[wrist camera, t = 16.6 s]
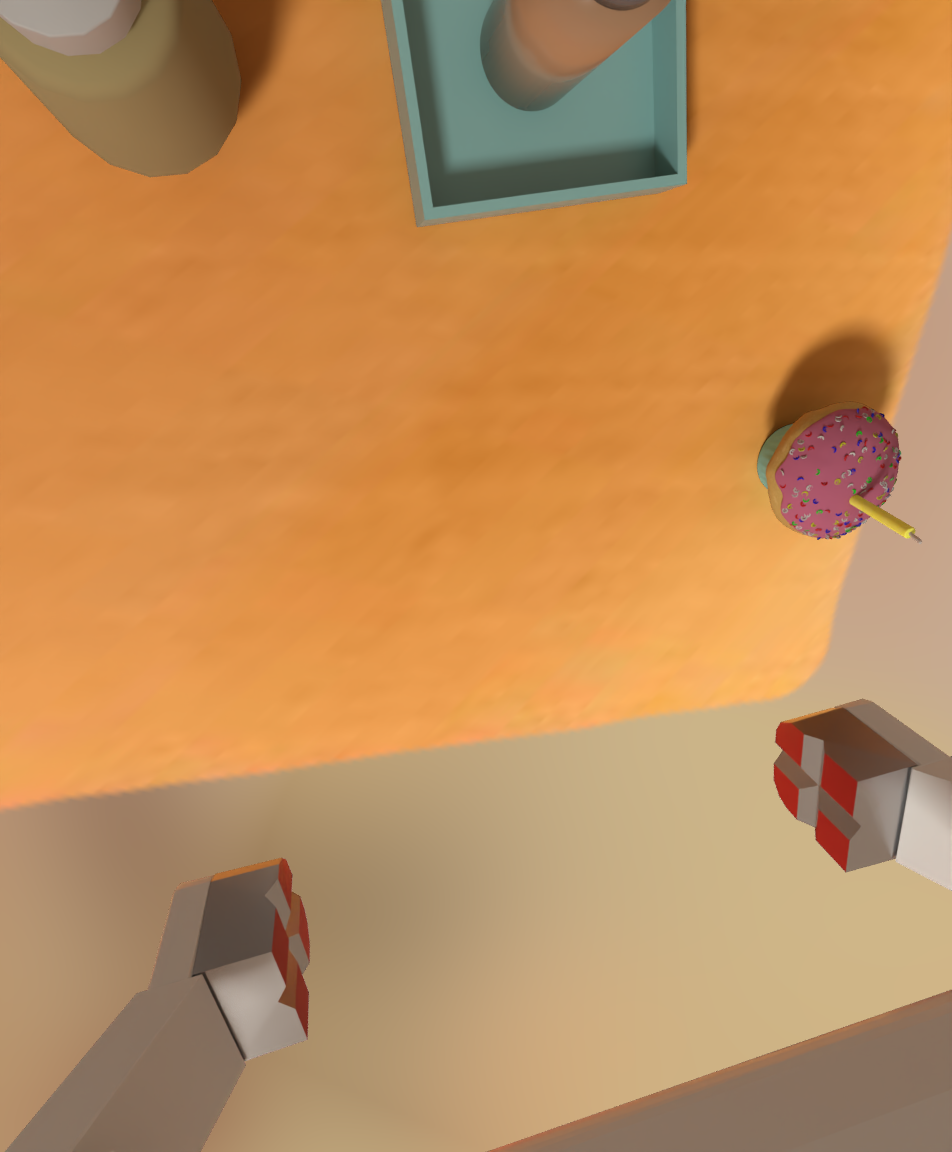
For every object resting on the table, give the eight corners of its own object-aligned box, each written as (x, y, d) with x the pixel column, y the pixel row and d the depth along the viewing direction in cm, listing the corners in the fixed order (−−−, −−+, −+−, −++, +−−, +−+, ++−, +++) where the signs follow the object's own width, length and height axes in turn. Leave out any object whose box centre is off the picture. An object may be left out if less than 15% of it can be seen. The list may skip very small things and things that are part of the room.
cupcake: (822, 516, 47) (971, 578, 36) (718, 517, 45) (843, 582, 34) (855, 395, 44) (1029, 424, 33) (745, 390, 42) (891, 419, 31)
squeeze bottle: (90, -66, 28) (-245, -594, 11) (275, 53, 30) (218, -237, 14) (40, 130, 30) (-304, -81, 13) (217, 224, 32) (110, 142, 16)
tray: (416, 227, 34) (424, 220, 32) (361, -126, 29) (364, -171, 26) (659, 193, 36) (686, 184, 34) (653, -144, 31) (684, -188, 28)
